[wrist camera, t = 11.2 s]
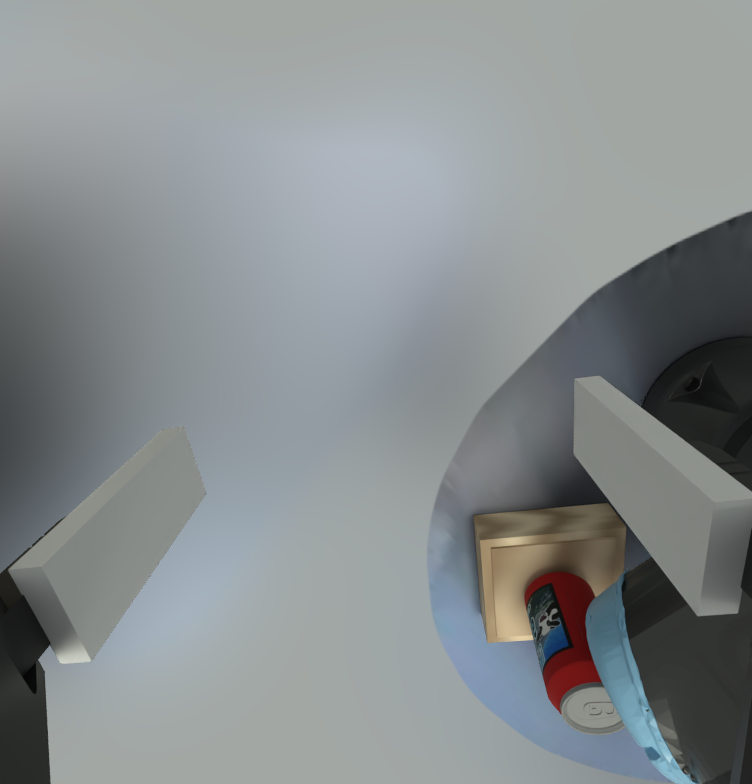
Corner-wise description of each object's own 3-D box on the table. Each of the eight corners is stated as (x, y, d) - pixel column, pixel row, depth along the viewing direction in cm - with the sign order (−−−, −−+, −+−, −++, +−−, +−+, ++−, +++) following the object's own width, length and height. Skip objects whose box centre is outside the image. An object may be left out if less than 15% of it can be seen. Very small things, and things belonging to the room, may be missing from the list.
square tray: (608, 502, 47) (627, 529, 43) (603, 604, 51) (620, 636, 47) (473, 515, 48) (480, 541, 44) (481, 613, 53) (488, 644, 49)
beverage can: (518, 569, 45) (548, 682, 34) (589, 562, 44) (643, 678, 33) (526, 619, 47) (555, 742, 36) (593, 614, 46) (645, 740, 35)
